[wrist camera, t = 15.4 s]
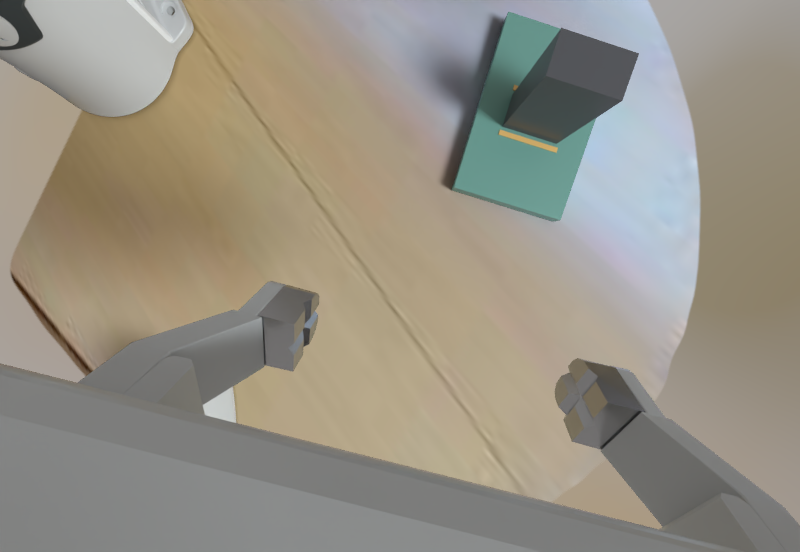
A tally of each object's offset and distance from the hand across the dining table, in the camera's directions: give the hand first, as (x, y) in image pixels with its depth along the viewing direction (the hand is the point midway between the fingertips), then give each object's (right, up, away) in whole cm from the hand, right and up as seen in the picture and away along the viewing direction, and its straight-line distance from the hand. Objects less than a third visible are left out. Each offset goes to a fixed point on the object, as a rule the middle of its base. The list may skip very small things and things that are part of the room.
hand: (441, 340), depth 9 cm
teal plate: (+13, +18, +23) cm, 32 cm away
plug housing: (+13, +18, +21) cm, 31 cm away
